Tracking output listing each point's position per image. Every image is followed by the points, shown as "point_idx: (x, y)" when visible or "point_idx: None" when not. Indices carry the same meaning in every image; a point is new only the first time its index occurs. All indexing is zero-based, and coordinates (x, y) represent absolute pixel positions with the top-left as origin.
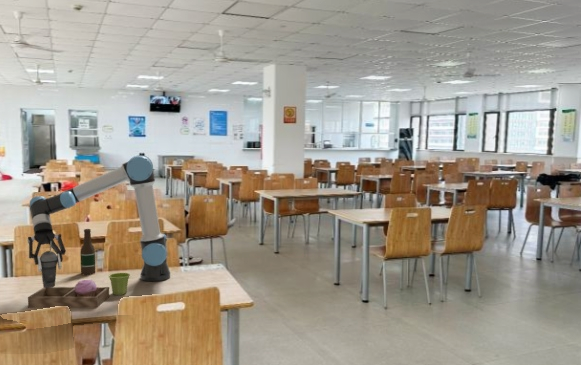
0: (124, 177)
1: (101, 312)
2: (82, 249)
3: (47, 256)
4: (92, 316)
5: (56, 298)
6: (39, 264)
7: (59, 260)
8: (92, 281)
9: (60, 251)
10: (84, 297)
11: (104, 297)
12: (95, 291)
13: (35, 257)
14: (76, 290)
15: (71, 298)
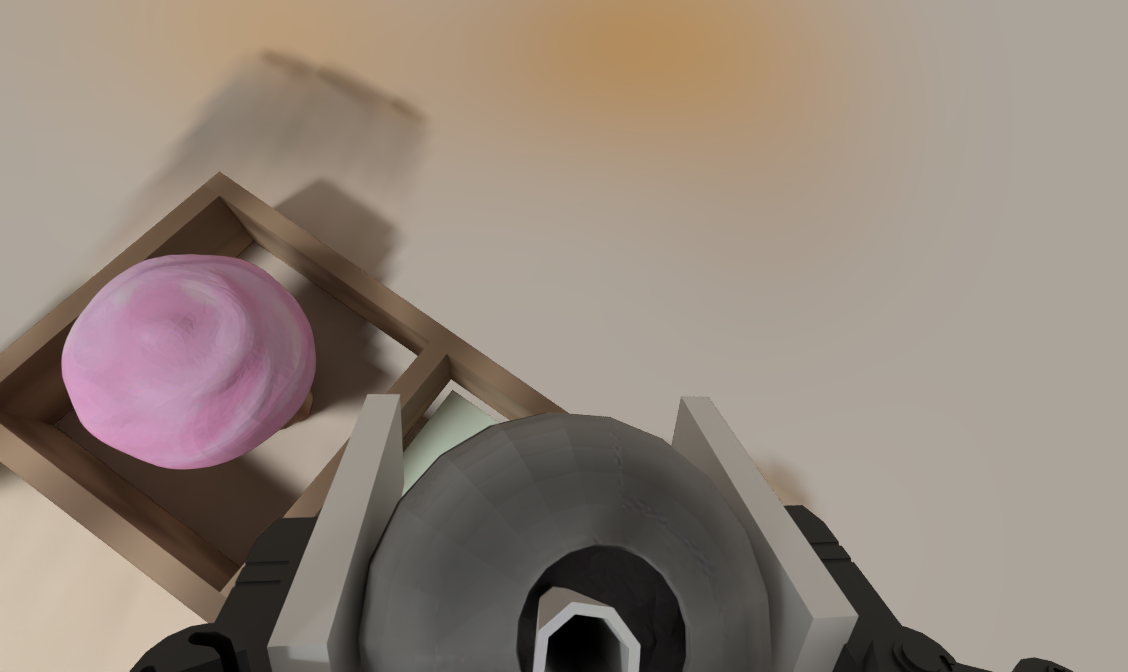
0: None
1: (273, 124)
2: None
3: (631, 433)
4: (350, 95)
5: (493, 363)
6: (734, 445)
7: (357, 474)
8: (93, 311)
9: (186, 662)
10: (301, 228)
11: None
12: (89, 476)
13: (881, 623)
14: (311, 333)
15: (390, 293)
